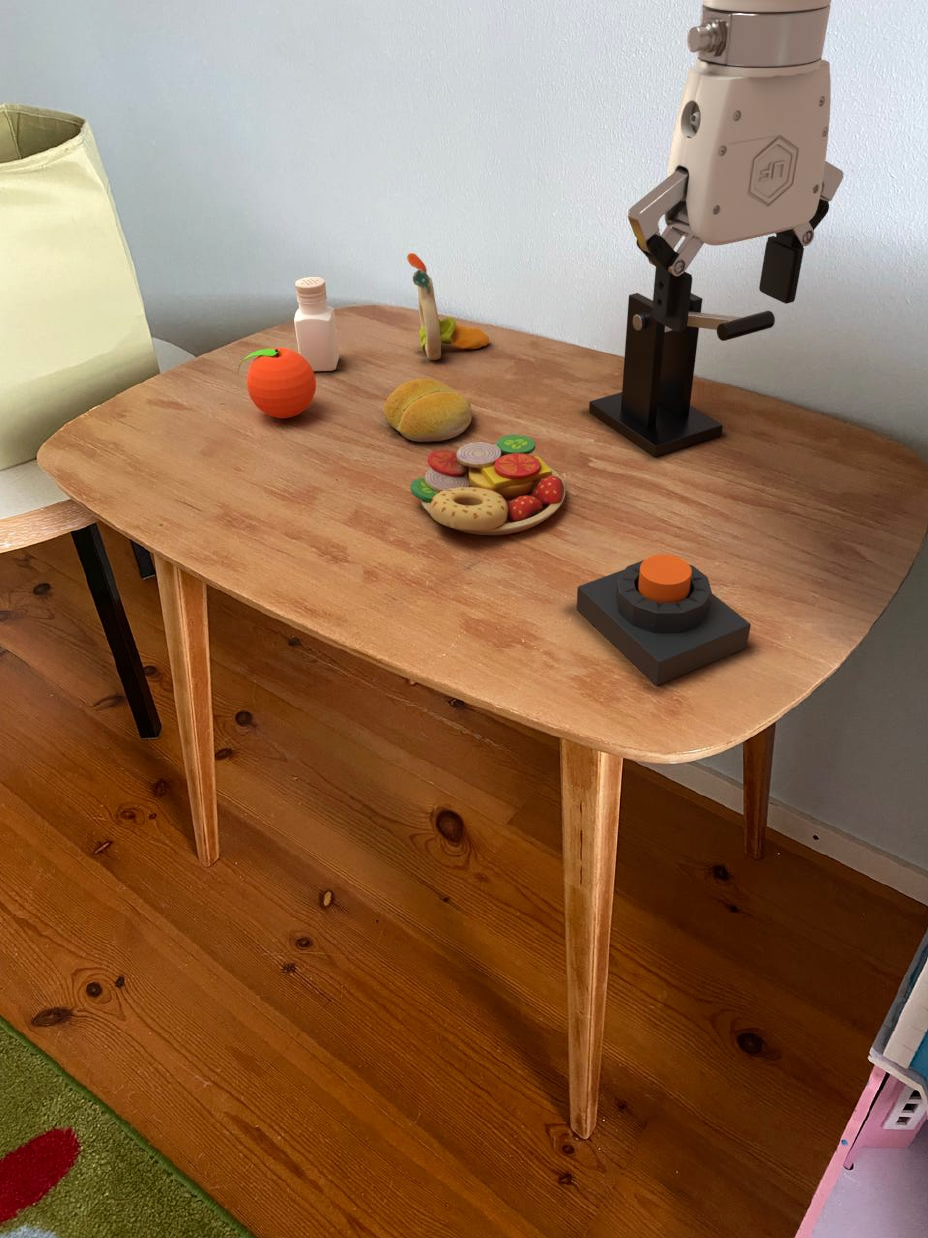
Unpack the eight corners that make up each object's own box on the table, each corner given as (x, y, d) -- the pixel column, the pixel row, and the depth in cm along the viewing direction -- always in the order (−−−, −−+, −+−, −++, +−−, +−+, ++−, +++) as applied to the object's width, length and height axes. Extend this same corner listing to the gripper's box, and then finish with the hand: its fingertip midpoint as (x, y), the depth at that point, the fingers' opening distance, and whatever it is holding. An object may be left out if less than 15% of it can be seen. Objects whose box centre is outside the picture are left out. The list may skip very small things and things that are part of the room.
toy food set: (445, 558, 81) (443, 524, 79) (394, 482, 90) (391, 451, 88) (590, 520, 84) (592, 487, 82) (526, 451, 94) (526, 420, 92)
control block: (746, 647, 71) (755, 603, 68) (656, 686, 68) (661, 641, 65) (661, 577, 78) (666, 535, 75) (576, 609, 75) (578, 566, 72)
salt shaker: (336, 372, 109) (326, 287, 104) (300, 373, 110) (288, 288, 104) (340, 357, 113) (330, 274, 107) (306, 358, 113) (294, 275, 107)
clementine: (233, 428, 100) (220, 362, 95) (255, 397, 105) (243, 333, 101) (309, 431, 99) (299, 365, 94) (327, 400, 104) (319, 336, 100)
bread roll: (419, 453, 94) (416, 415, 92) (373, 419, 100) (370, 382, 98) (490, 428, 98) (489, 391, 95) (442, 396, 104) (440, 360, 101)
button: (699, 594, 70) (702, 574, 69) (658, 610, 69) (660, 590, 67) (668, 568, 72) (670, 549, 71) (628, 583, 71) (629, 564, 70)
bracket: (721, 435, 95) (740, 306, 87) (654, 457, 92) (667, 325, 84) (652, 392, 103) (663, 270, 95) (588, 411, 100) (594, 287, 92)
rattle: (482, 367, 109) (480, 263, 102) (410, 366, 110) (402, 263, 103) (490, 340, 115) (488, 240, 108) (420, 339, 116) (414, 239, 109)
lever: (775, 334, 82) (775, 304, 81) (728, 347, 81) (727, 317, 80) (676, 321, 93) (675, 295, 92) (633, 333, 91) (631, 306, 90)
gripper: (684, 65, 55) (656, 355, 66) (911, 32, 61) (851, 303, 72) (608, 46, 60) (594, 318, 71) (824, 17, 66) (781, 272, 77)
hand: (723, 310), depth 71 cm, fingers open, 9 cm apart
